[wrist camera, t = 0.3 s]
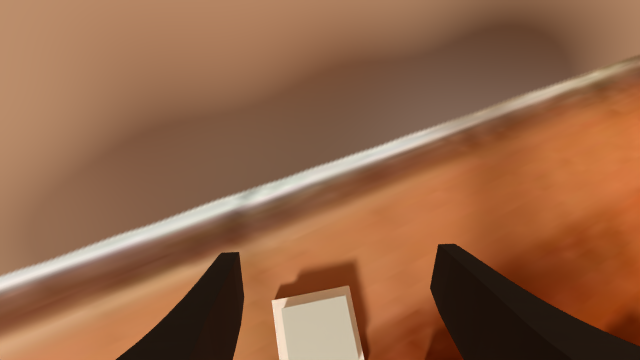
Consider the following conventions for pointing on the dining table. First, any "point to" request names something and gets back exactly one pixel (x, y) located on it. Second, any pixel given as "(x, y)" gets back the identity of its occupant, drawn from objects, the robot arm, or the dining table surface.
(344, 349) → the top slab
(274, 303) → the bottom slab
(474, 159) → the dining table surface
